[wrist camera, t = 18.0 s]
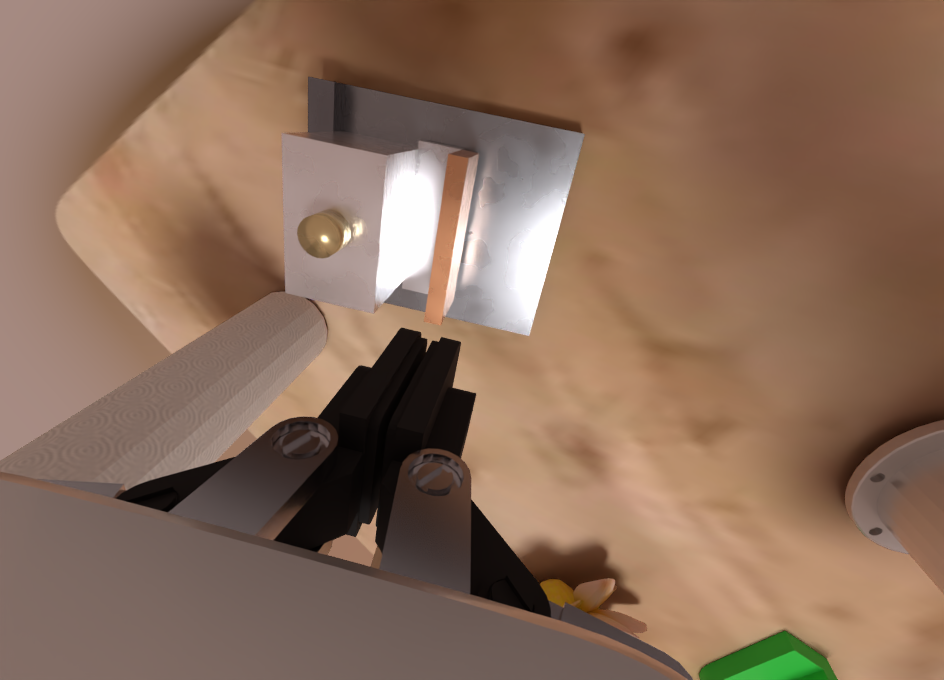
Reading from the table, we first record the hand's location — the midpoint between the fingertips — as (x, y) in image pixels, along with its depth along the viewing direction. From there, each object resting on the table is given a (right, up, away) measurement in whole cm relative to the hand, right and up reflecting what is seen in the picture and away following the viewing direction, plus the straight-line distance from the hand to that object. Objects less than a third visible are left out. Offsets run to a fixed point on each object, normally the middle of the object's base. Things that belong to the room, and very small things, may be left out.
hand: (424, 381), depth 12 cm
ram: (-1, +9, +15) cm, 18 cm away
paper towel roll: (-13, +2, +23) cm, 27 cm away
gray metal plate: (-1, +10, +17) cm, 19 cm away
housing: (-5, +10, +16) cm, 19 cm away
